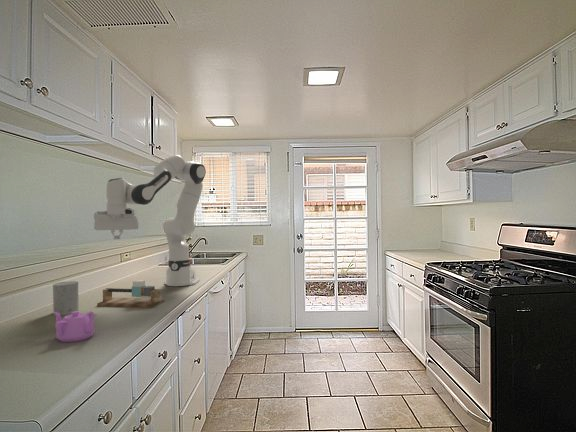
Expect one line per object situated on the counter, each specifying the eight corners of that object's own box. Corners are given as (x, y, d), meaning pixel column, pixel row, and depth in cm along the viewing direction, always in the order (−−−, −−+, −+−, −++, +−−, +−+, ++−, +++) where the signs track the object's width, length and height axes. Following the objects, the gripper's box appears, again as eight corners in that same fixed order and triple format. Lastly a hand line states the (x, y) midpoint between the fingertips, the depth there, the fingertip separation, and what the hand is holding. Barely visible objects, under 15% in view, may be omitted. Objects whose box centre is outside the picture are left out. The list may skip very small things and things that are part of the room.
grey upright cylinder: (51, 316, 163) (50, 286, 162) (55, 310, 172) (54, 282, 171) (77, 313, 166) (76, 284, 166) (80, 308, 175) (79, 280, 175)
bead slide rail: (103, 294, 183) (103, 286, 183) (109, 293, 187) (108, 285, 187) (153, 296, 179) (153, 287, 179) (158, 294, 183) (157, 286, 183)
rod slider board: (97, 305, 180) (97, 291, 180) (113, 299, 191) (113, 286, 191) (150, 307, 175) (150, 292, 175) (163, 301, 187) (163, 287, 187)
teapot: (96, 340, 132) (96, 313, 131) (48, 346, 126) (47, 318, 126) (98, 330, 142) (97, 305, 142) (53, 335, 137) (53, 310, 137)
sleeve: (131, 296, 181) (131, 281, 181) (137, 294, 185) (136, 279, 185) (140, 296, 180) (140, 281, 180) (146, 294, 184) (145, 280, 184)
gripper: (92, 211, 189) (92, 240, 189) (137, 210, 194) (138, 238, 194) (95, 211, 195) (95, 239, 196) (139, 210, 200) (139, 238, 200)
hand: (117, 239), depth 195 cm, fingers closed
